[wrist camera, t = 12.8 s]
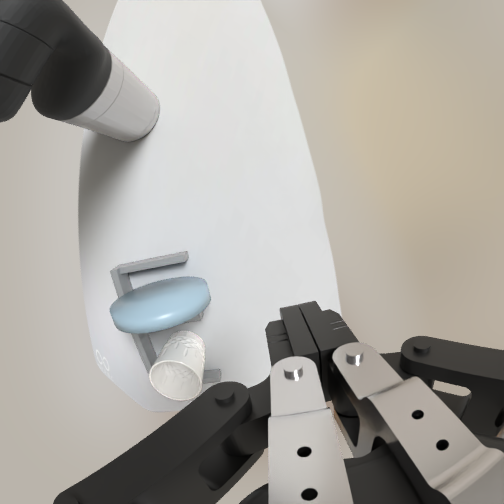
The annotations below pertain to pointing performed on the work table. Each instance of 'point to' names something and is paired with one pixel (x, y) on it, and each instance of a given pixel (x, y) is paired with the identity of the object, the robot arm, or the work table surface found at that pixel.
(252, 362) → the work table surface
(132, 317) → the dish rack
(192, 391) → the white cup
